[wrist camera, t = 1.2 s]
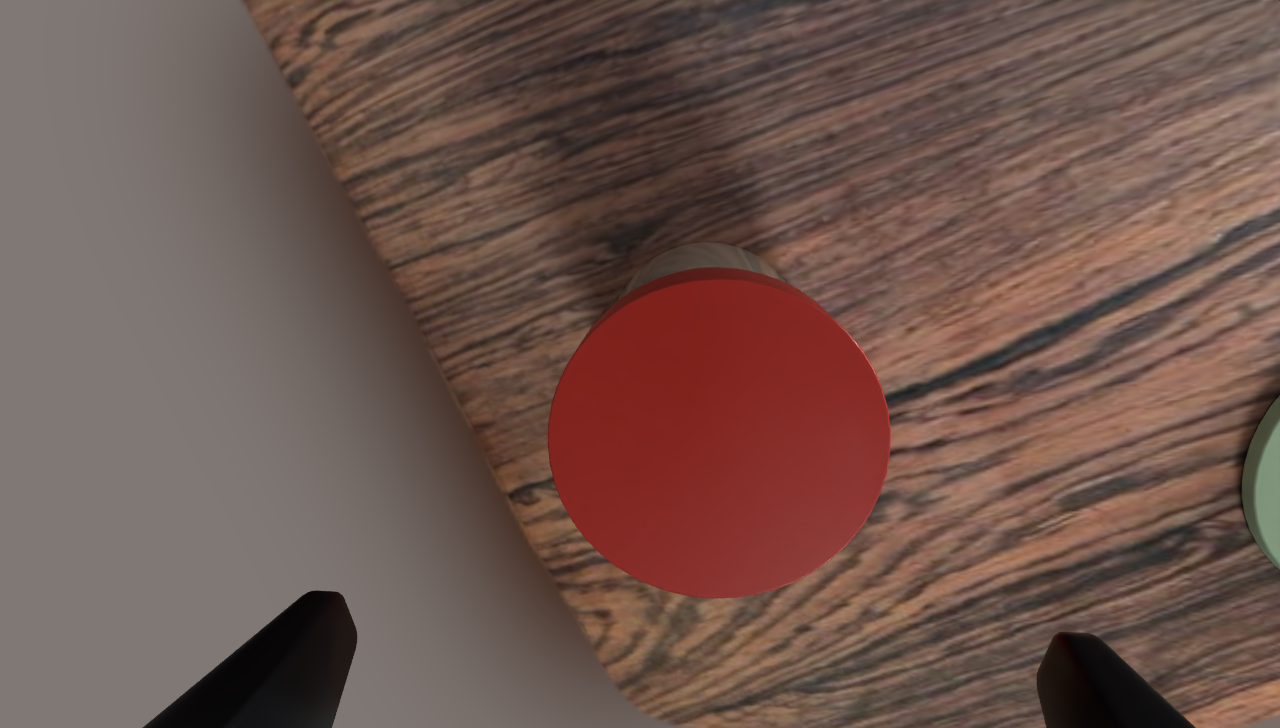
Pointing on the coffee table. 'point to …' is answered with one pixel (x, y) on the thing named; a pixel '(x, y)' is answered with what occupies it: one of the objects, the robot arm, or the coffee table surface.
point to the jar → (699, 262)
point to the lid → (718, 434)
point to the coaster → (1264, 484)
